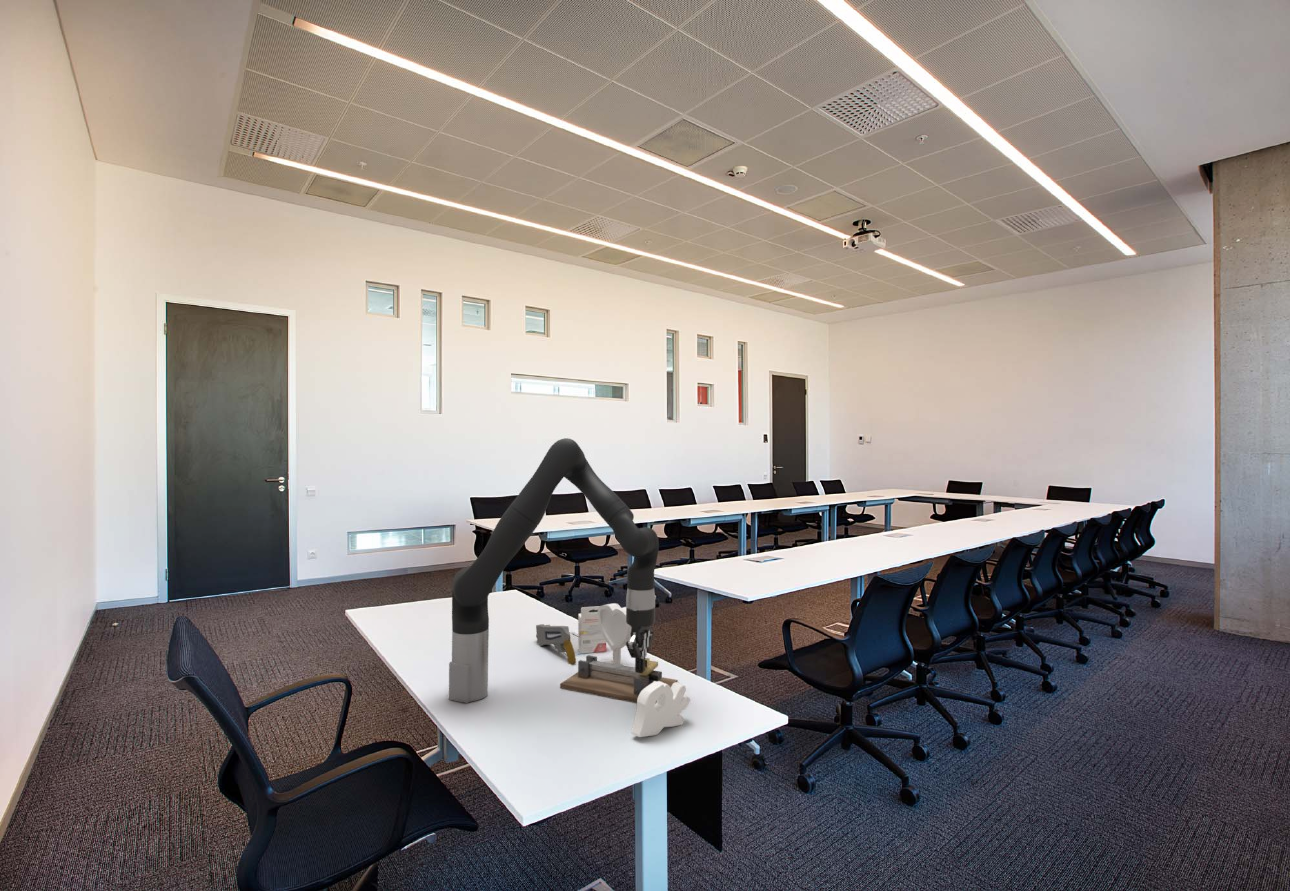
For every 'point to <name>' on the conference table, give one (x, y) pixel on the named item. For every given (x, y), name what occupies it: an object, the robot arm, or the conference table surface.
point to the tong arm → (621, 670)
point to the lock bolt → (649, 666)
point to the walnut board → (605, 687)
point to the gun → (556, 639)
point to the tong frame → (612, 675)
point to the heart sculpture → (614, 629)
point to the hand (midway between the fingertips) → (640, 671)
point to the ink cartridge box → (590, 632)
